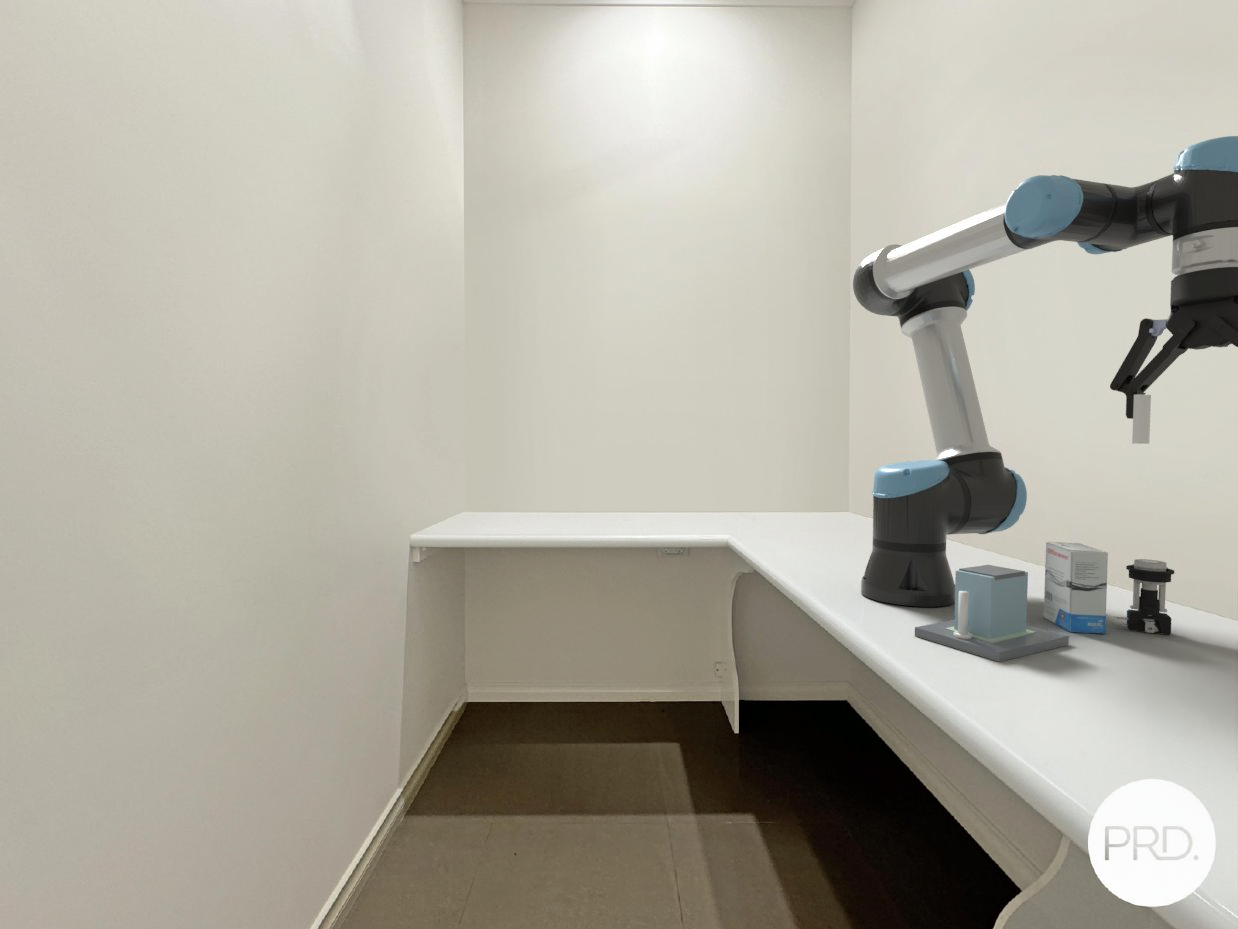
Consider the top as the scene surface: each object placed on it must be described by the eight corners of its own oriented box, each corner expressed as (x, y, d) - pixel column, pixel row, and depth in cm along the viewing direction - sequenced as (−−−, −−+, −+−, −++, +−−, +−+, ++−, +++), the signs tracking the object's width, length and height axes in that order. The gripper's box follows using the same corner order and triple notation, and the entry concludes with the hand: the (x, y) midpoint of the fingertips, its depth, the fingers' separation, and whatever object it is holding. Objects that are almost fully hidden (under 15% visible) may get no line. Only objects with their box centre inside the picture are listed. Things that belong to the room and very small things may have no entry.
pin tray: (914, 635, 91) (915, 584, 91) (982, 622, 98) (984, 574, 98) (998, 661, 81) (1000, 603, 80) (1068, 644, 87) (1070, 590, 87)
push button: (1116, 631, 93) (1118, 562, 93) (1109, 622, 98) (1112, 556, 98) (1176, 638, 90) (1179, 566, 90) (1166, 629, 95) (1169, 560, 95)
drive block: (953, 629, 90) (955, 569, 89) (990, 621, 93) (991, 564, 93) (990, 639, 85) (991, 576, 85) (1026, 631, 89) (1028, 570, 89)
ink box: (1107, 635, 92) (1109, 551, 92) (1068, 632, 93) (1070, 550, 93) (1077, 618, 100) (1080, 542, 100) (1042, 616, 101) (1044, 540, 101)
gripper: (1083, 288, 90) (1079, 443, 91) (1345, 240, 68) (1335, 444, 69) (1113, 294, 94) (1108, 443, 95) (1370, 250, 72) (1361, 444, 73)
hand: (1204, 444), depth 82 cm, fingers open, 13 cm apart
